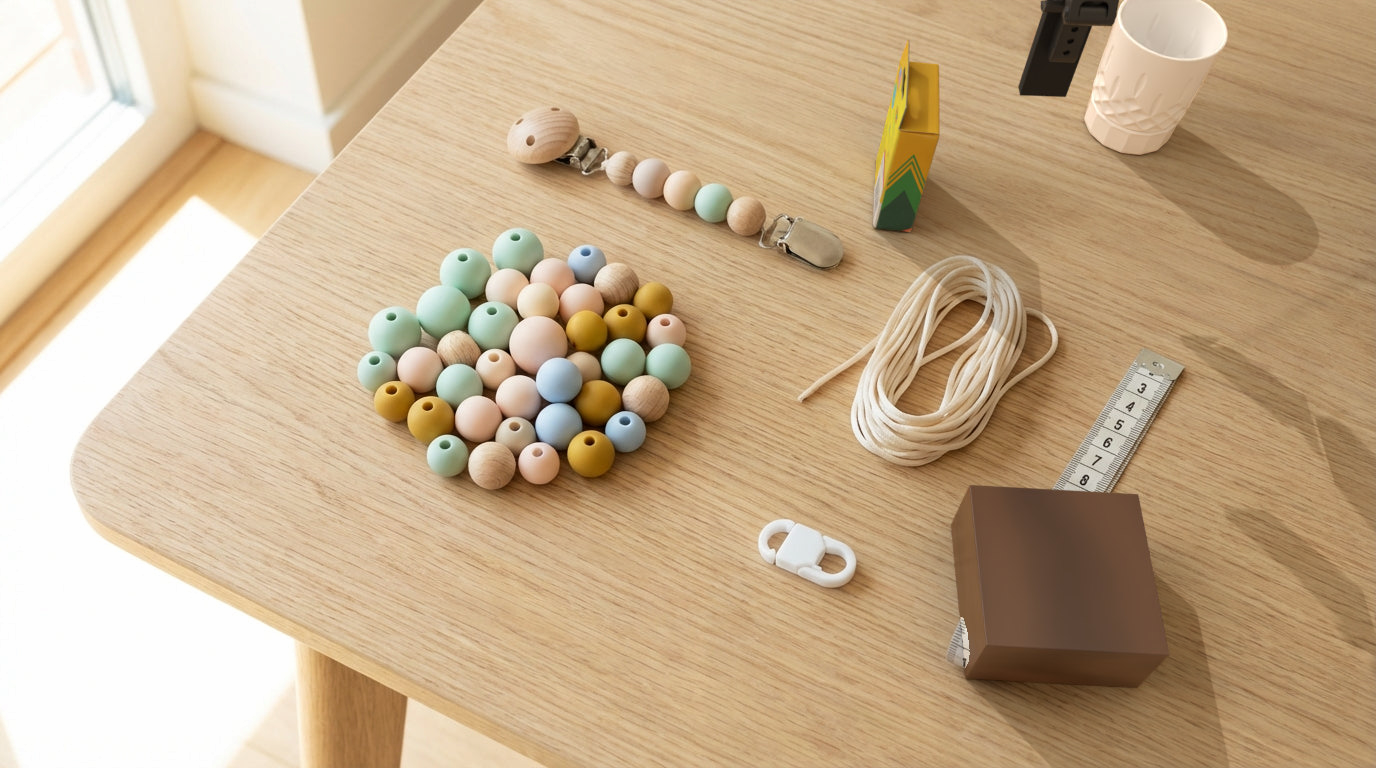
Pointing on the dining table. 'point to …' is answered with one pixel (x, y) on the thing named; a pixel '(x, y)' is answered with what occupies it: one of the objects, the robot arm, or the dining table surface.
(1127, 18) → the white cup
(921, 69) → the crayon box
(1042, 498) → the walnut riser
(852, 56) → the dining table surface
